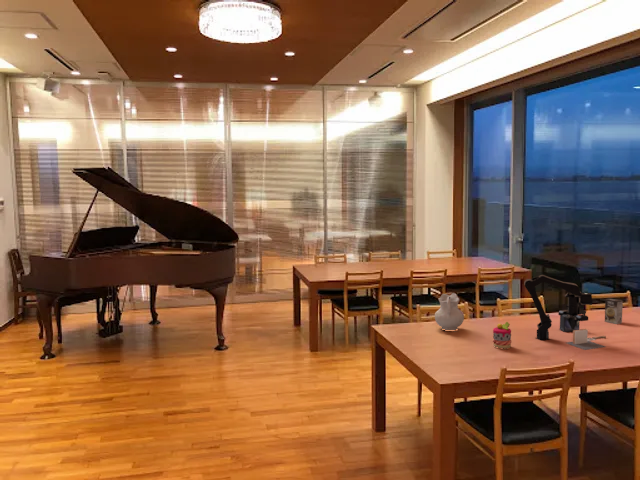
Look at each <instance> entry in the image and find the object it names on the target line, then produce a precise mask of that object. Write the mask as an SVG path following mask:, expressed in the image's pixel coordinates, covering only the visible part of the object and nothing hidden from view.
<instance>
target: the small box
mask: <svg viewBox="0 0 640 480" xmlns="http://www.w3.org/2000/svg"><path fill="white" fill-rule="evenodd" d="M565 317H566V315H564V314H563V315H562V316H560V315H559V330H560V331H561V332H564V333H568V332H569V333H571V332H572V333H573V330H580V322H581V321H578V322H577V323H576V326H575V328H574V329H572V328H571V327H570V325H569V323H568V321H567V319H566V318H565Z"/></svg>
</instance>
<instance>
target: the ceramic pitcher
mask: <svg viewBox="0 0 640 480" xmlns="http://www.w3.org/2000/svg"><path fill="white" fill-rule="evenodd" d="M438 302H439V305H440V308H439V309H438V310H437V311H435V313H434V320H435V323H437V325H438V326H439V327H440V328H442V329H445V330H456V329H458V330H459V328H458V327H460V326H461V325H463V322H464V321H465V315H464V312H463V311H462V310H461V309H460V308H459V307H458V306H459V302H460V297H458V294H456V293H455V292H452V293H451V295H449V294H447V293H446V294H445V293H442V294H441V296H440V297H439V298H438Z"/></svg>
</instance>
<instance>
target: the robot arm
mask: <svg viewBox="0 0 640 480" xmlns="http://www.w3.org/2000/svg"><path fill="white" fill-rule="evenodd" d="M542 283H544V284H549V285H551V286H555V287H557V288H560V289H563V290H564V291H566V292H567V293H566V294H564V297H565V298H567V305H566V306H565V307H566V308H567V309H562V310H559V311H558V316H559V317H560V316H562V315H563V314H564V315H566V317H565V318H566V319H567V321H568V323H569V325H570V327H571V328H572V329H574V328H575V326H576V323H577V322H578V321H580V322H586V321H587V322H588V321H589V316H588V315H587V309H584V308H581V306H580V305H579V303H580V304H581V305H582V306H585V305H586V306H588V305H589V306H593V296H592V293H582V292H581V291H580V287H579V286H578V285H577V284H576V283H573V282H566V281H562V280H558V279H556V278H553V277H550V276H547V275H545V274H541V275H537V276H535V277H532V278H526V279H525V280H524V283H523V284H524V287H525V289H526V290H527V292H528V293H529V295H530V297H531V299H532V302H533V304H534V305H535V308H536V310H537V313H538V315H539V316H538V317H539V320H540V322H539V323H537V324H536V326H537V329H536V337H535V340H539V341H540V342H541V341H542V342H543V341H550V340H551V339H550V338H549V337H550V332H549V329H550V328H551V327H552V323H553V321H552V319H551V317H550V313H546V312H545V310H544V308H543V305H542V303H541V300H540V298H539V296H538V294H537V289H536V287H537V286H538V285H540V284H542Z"/></svg>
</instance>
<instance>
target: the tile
mask: <svg viewBox="0 0 640 480" xmlns="http://www.w3.org/2000/svg"><path fill="white" fill-rule="evenodd" d="M588 330H589V329H587V328H581V329H580V328H579V330H573V332H572V342H573V344H581V343H587V338H588V336H589V335H588Z"/></svg>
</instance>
